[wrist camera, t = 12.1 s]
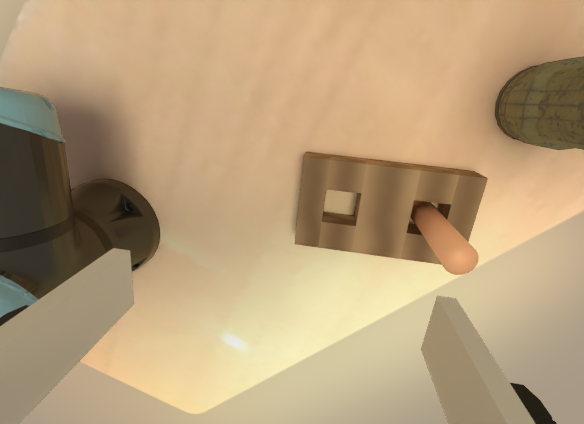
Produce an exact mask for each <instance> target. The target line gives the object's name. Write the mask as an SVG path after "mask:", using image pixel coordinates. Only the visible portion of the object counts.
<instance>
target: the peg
mask: <svg viewBox="0 0 584 424" xmlns="http://www.w3.org/2000/svg"><path fill="white" fill-rule="evenodd" d="M410 217H411V218H412V220H413V221H414V223H415V224H416V226H417V227H418V229H419V230H420V232H421V233H422V235H423V236H424V238H425V239H426V241H427V242H428V244H429V245H430V247H431V248H432V250H433V251H434V253H435V254H436V256H437V257H438V259H439V261H440V262H441V264H442V265H443V267H444V268H445V269H446V270H447V271H448V272H449V273H452V274H455V275H462V274H466V273H468V272H470V271H472V270H473V269H474V268H475V266H476V265H477V263H478V254H477V252H476V250H475V249H474V248H473V247H472V246H471V245H470V244H469V243H468V242H467V240H466V239H465V238H464V237H463V236H462V235H461V234H460V233H459V232H458V231H457V230H456V229H455V228H454V227H453V226H452V225H451V224H450V222H449V221H448V220H447V219H446V218H445V217H444V216H443V215H442V214H441V213H440V212H439V211H438V210H437V209H436V208H435V207H434V206H433V204H432V203H431V202H426V201H418V200H414V203H413V207H412V212H411V216H410Z"/></svg>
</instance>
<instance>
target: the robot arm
mask: <svg viewBox="0 0 584 424" xmlns="http://www.w3.org/2000/svg"><path fill="white" fill-rule="evenodd" d="M64 143H66V141H65V139H64V138H63V137H62V133H61V128H60V123H59V119H58V114H57V110H56V108H55V106H54V105H53V104H52V102H51V101H50V100H48V99H47V98H46V97H44V96H42V95H40V94H37V93H32V92H27V91H21V90H15V89H8V88H2V87H0V424H20V423H21V422H22V421H23V420H24V419H25V418H26V417H27V416H28V415H29V413H30V412H31V411H32V410H33V409H34V408H35V407H36V406H37V405H38V404H39V403H40V402H41V401H42V400H43V398H45V397H46V396H47V394H49V392H50V391H51V390H52V389H53V388H54V387H55V386H56V385H57V384H58V383H59V382H60V381H61V380H62V379H63V377H65V375H67V374H68V373H69V371H70V370H71V369H72V368H73V367H74V366H75V365H76V364H77V363H78V362H79V361H80V360H81V359H82V358H83V357H84V356H85V355H86V354H87V353H88V352H89V350H90V349H91V348H92V347H93V346H94V345H95V344H96V343H97V342H98V341H99V340H100V339H101V338H102V337H103V336H104V335H105V334H106V333H107V332H108V331H109V329H110V328H111V327H112V326H113V325H114V324H115V323H116V322H117V321H118V320H119V319H120V318H121V317H122V316H123V315H124V314H125V313H126V312H127V311H128V310H129V309H130V307H131V306H132V305H133V304H134V295H133V282H132V271H134V270H136V269H138V268H140V267H141V266H142V265H143V264H145V263H146V262H147V261H148V260H149V259H150V258H151V257H152V256H153V255H154V253H155V251H156V249H157V247H158V244H159V238H160V231H159V224H158V221H157V218H156V215H155V213H154V211H153V209H152V208H151V206H150V205H149V203H148V202H147V201H146V199H145V198H144V197H143V196H142V195H141V194H139V193H138V192H137V191H136V190H134V189H133V188H131V187H130V186H128V185H126V184H124V183H121V182H118V181H115V180H110V179H98V180H93V181H90V182H87V183H84V184H81V185H79V186H77V187H75V188H73V189H72V190H71V188H70V181H69V174H68V167H67V160H66V153H65V146H64ZM421 351H422V353H423V356H424V359H425V361H426V364H427V367H428V369H429V372H430V375H431V378H432V381H433V383H434V386H435V389H436V392H437V394H438V397H439V400H440V402H441V405H442V408H443V411H444V413H445V416H446V419H447V422H448V424H556V422H555V421H553V420H552V417H551V415H550V414H549V413H548V411H547V409H546V408H545V407H544V405H543V404H542V402H541V401H540V400H539V399H538V398H537V397H536V396H535V395H534V394H532V393H531V392H530V391H529V390H528V389H527V388H526V387H525V386H524V385H520V384H514V383H509V381H508V380H507V378H506V376H505V375H504V373H503V372H502V370H501V368H500V367H499V365H498V364H497V362H496V361H495V359H494V357H493V356H492V354H491V353H490V351H489V349H488V348H487V346H486V345H485V343H484V342H483V340H482V339H481V337H480V335H479V334H478V332H477V331H476V329H475V327H474V326H473V324H472V323H471V321H470V320H469V318H468V316H467V315H466V313H465V312H464V310H463V308H462V307H461V306H460V304H459V302H458V301H457V299H456V298H449V297H442V296H437V297H436V301H435V304H434V307H433V311H432V314H431V317H430V321H429V324H428V327H427V331H426V334H425V337H424V341H423V344H422V347H421Z"/></svg>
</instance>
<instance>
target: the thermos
mask: <svg viewBox="0 0 584 424" xmlns="http://www.w3.org/2000/svg"><path fill="white" fill-rule="evenodd" d="M495 116H496V120H497V123H498V126H499V127H500V128H501V130H502V131H503V132H504V133H505V134H506V135H508V136H510V137H511V138H513V139H517V140H521V141H523V142H524V143H528V144H532V145H537V146H541V147H546V148H551V149H556V150H563V149H572V148H578V149H583V150H584V57H578V58H571V59H565V60H559V61H553V62H548V63H544V64H541V65H539V66H533V67H529V68H527V69H525V70H523V71H521V72H519V73H517V74H516V75H515V76H514V77H512V78H511V79H510V80H509V81H508V82H507V83H506V85H505V86H504V87H503V89H502V90H501V91H500V94H499V96H498V99H497V102H496V109H495Z"/></svg>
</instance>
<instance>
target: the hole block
mask: <svg viewBox="0 0 584 424" xmlns="http://www.w3.org/2000/svg"><path fill="white" fill-rule="evenodd" d="M487 179H488V178H486V177H484V176H482V175H480V174H478V173H476V172H474V171H467V170H459V169H450V168H441V167H433V166H424V165H416V164H407V163H398V162H390V161H381V160H372V159H364V158H355V157H346V156H338V155H329V154H321V153H312V152H306V154H305V156H304V162H303V171H302V180H301V189H300V198H299V208H298V217H297V226H296V235H295V244H298V245H305V246H312V247H319V248H327V249H334V250H341V251H348V252H355V253H363V254H370V255H377V256H384V257H391V258H398V259H406V260H413V261H420V262H427V263H434V264H441V262H440V261H439V259H438V257H437V256H436V254H435V253H434V251H433V250H432V248H431V247H430V245H429V244H428V242H427V241H426V239H425V238H424V236H423V235H422V233H421V232H420V230H419V229H418V227H417V226H416V224H412V223H409V220H410V216H411V212H412V207H413V203H414V200H418V201H426V202H434V203H439V206H438V211H439V212H440V213H441V214H442V215H443V216H444V217H445V218H446V219H447V220H448V221H449V222H450V224H451V225H452V226H453V227H454V228H455V229H456V230H457V231H458V232H459V233H460V234H461V235H462V236H463V237H464V238H465V239H466V240H467V242H468V241H469V237H470V234H471V231H472V228H473V225H474V221H475V218H476V215H477V212H478V208H479V205H480V202H481V199H482V196H483V192H484V189H485V186H486V183H487ZM326 189H330V190H338V191H346V192H354V193H358V196H357V202H356V208H355V213H354V216H350V215H343V214H335V213H327V212H323V209H324V201H325V194H326ZM441 265H442V264H441Z"/></svg>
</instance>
